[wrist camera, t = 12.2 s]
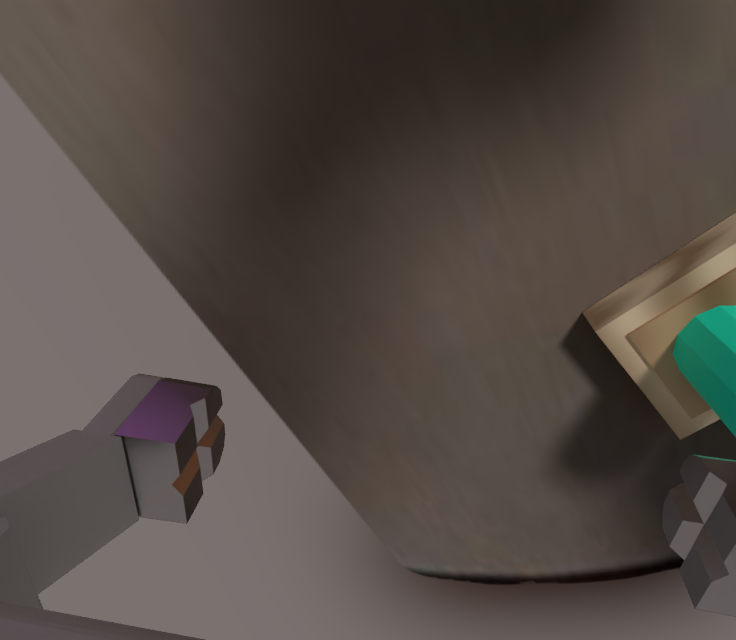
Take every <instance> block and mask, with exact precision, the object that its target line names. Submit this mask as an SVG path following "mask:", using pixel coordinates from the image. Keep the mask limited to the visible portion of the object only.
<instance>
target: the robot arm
mask: <svg viewBox="0 0 736 640" xmlns="http://www.w3.org/2000/svg"><path fill="white" fill-rule="evenodd" d="M221 406H222V397H221V390H220V389H219V388H218V387H217V386H213V385H207V384H201V383H195V382H189V381H183V380H177V379H171V378H162V377H157V376H151V375H144V374H137V375H134V376H132V377H131V378H130V379H129V380H128V381H127V382H126V383H125V384H124V386H123V387H122V388H121V389H120V390H119V391H118V392H117V393H116V394H115V395H114V396H113V398H112V399H111V400H110V401H109V402H108V403H107V404H106V405H105V406H104V407H103V408H102V410H101V411H100V412H99V413H98V414H97V415H96V416H95V417H94V418H93V419H92V421H91V422H90V423H89V424H88V425H87V426H86V427H85V428H84V429H83V430H82V431H80V430H72V431H70V432H67V433H65V434H63V435H60V436H58V437H56V438H53V439H51V440H49V441H47V442H45V443H42V444H40V445H37V446H35V447H33V448H31V449H28V450H26V451H24V452H21V453H19V454H17V455H15V456H12V457H10V458H8V459H5V460H3V461H1V462H0V640H203V639H198V638H193V637H188V636H182V635H177V634H171V633H166V632H161V631H155V630H150V629H145V628H139V627H134V626H128V625H123V624H118V623H113V622H107V621H102V620H96V619H91V618H86V617H81V616H75V615H70V614H64V613H59V612H54V611H49V610H44V609H43V607H42V604H41V602H40V599H39V597H38V594H39V593H40V592H42V591H43V590H45V589H46V588H47V587H49V586H50V585H51V584H53V583H54V582H55V581H57V580H58V579H59V578H61V577H62V576H63V575H65V574H66V573H68V572H69V571H70V570H72V569H73V568H74V567H76V566H77V565H78V564H80V563H81V562H82V561H84V560H85V559H87V558H88V557H89V556H90V555H92V554H93V553H95V552H96V551H97V550H99V549H100V548H101V547H103V546H104V545H106V543H108V542H110V541H111V540H112V539H114V538H115V537H116V536H118V535H119V534H120V533H122V532H123V531H124V530H126V529H127V528H129V527H130V526H131V525H133V524H134V523H135V522H137V521H138V520H139V517H143V518H150V519H157V520H165V521H172V522H180V523H188V521H189V519H190V517H191V515H192V513H193V512H194V510H195V508H196V506H197V504H198V502H199V500H200V498H201V496H202V495H203V487H202V481H203V480H205V479H206V478H208V477H210V476H211V475H213V474H214V472H215V470H216V468H217V466H218V464H219V462H220V458H221V455H222V451H223V448H224V439H225V428H224V423H223V422H222V420H221V419H220V418H219V417H218V416H217V413H218V411H219V409H220V408H221ZM679 473H680V475H681V477H682V479H683V483H681V484H679V485H677V486H676V487H674V488H672V489H671V490H669V492H668V495H667V497H666V499H665V502H664V504H663V514H662V523H663V529H664V534H665V536H666V539H667V542H668V544H669V547H671V548H672V549H673V550H674V551H675V552H676V553H677V554H678V555H679V556H680V557H681V558H682V559H684V561H683V563H682V566H681V568H680V570H679V571H680V574H681V576H682V578H683V581H684V583H685V586H686V588H687V590H688V593H689V595H690V597H691V600H692V603H693V605H694V607H695V609H698V610H704V611H709V612H714V613H719V614H725V615H729V616H734V617H736V460H730V459H722V458H715V457H708V456H701V455H693V454H691V455H690V456H689V457H688V458H687V459H685V460H684V462H683V464H682V466H681V468H680V470H679Z"/></svg>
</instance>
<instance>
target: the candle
mask: <svg viewBox="0 0 736 640" xmlns="http://www.w3.org/2000/svg"><path fill="white" fill-rule="evenodd" d="M673 356H674V359H675V361H676V363H677V366H678V368H679V371H680V372H681V373H682V374H683V375H684V377H685V378H686V379H687V380H688V381H689V382H690V384H691V385H692V386H693V387H694V388H695V390H696V391H697V392H698V393H699V394H700V395H701V397H702V398H703V399H704V400H705V401H706V403H707V404H708V405H709V406H710V407H711V408H712V410H713V411H714V412H715V413H716V414H717V416H718V417H719V418H720V419H721V420H722V421H723V423H724V424H725V425H726V426H727V427H728V429H729V430H730V431H731V432H732V433H733V434H734V436H735V437H736V306H717V307H715V308H713V309H711V310H708V311H706V312H704V313H701V314H699V315H697V316H695V317H694V318H693V319H692V320H691V321H690V322H689V323H688V324H687V325H686V326H685V327H684V328H683V329H682V330H681V331H680V332H679V333H678V336H677V339H676V343H675V347H674V350H673Z"/></svg>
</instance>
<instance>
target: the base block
mask: <svg viewBox="0 0 736 640" xmlns="http://www.w3.org/2000/svg"><path fill="white" fill-rule="evenodd" d="M717 306H736V213H734V214H733V215H731V216H730V217H728V218H726V219H725V220H723V221H722V222H720V223H719V224H717V225H716V226H714V227H713V228H711V229H710V230H708V231H706V232H705V233H703V234H702V235H700V236H699V237H697V238H696V239H694V240H693V241H691V242H690V243H688V244H686V245H685V246H683V247H682V248H680V249H679V250H677V251H676V252H674V253H673V254H671V255H670V256H668V257H667V258H665V259H663V260H662V261H660V262H659V263H657V264H656V265H654V266H653V267H651V268H650V269H648V270H647V271H645V272H643V273H642V274H640V275H639V276H637V277H636V278H634V279H633V280H631V281H630V282H628V283H627V284H625V285H623V286H622V287H620V288H619V289H617V290H616V291H614V292H613V293H611V294H610V295H608V296H607V297H605V298H603V299H602V300H600V301H599V302H597V303H596V304H594V305H593V306H591V307H590V308H588V309H587V310H585V311H584V312H582V313H583V314H584V316H585V317H586V319H587V320H588V322H589V323H590V325H591V326H592V328H593V329H594V331H595V332H596V333H597V335H598V336H599V337H600V338H601V340H602V341H603V342H604V344H605V345H606V346H607V347H608V349H609V350H610V351H611V352H612V354H613V355H614V356H615V358H616V359H617V360H618V361H619V363H620V364H621V365H622V366H623V368H624V369H625V370H626V371H627V373H628V374H629V375H630V377H631V378H632V379H633V380H634V382H635V383H636V384H637V385H638V387H639V388H640V389H641V391H642V392H643V393H644V394H645V396H646V397H647V398H648V399H649V401H650V402H651V403H652V404H653V406H654V407H655V408H656V410H657V411H658V412H659V413H660V415H661V416H662V417H663V418H664V420H665V421H666V422H667V423H668V425H669V426H670V427H671V429H672V430H673V431H674V432H675V434H676V435H677V436H678V437H679V439H680V440H681V439H683V438H685V437H687V436H689V435H691V434H693V433H695V432H696V431H698V430H700V429H702V428H704V427H706V426H708V425H710V424H712V423H714V422H716V421H718V420H720V418H719V417H718V416H717V414H716V413H715V412H714V411H713V410H712V408H711V407H710V406H709V405H708V404H707V403H706V401H705V400H704V399H703V398H702V397H701V395H700V394H699V393H698V392H697V391H696V390H695V388H694V387H693V386H692V385H691V384H690V382H689V381H688V380H687V379H686V378H685V377H684V375H683V374H682V373H681V372H680V371H679V368H678V366H677V363H676V361H675V359H674V356H673V350H674V347H675V343H676V339H677V336H678V333H679V332H680V331H681V330H682V329H683V328H684V327H685V326H686V325H687V324H688V323H689V322H690V321H691V320H692V319H693V318H694V317H695V316H697V315H699V314H701V313H704V312H706V311H708V310H711V309H713V308H715V307H717Z"/></svg>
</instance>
